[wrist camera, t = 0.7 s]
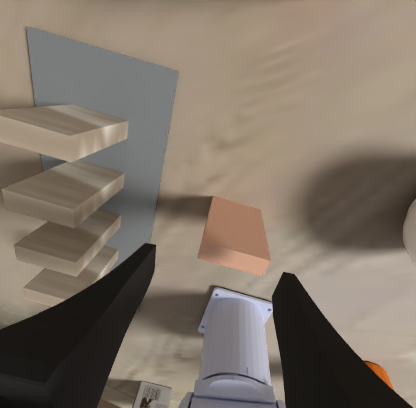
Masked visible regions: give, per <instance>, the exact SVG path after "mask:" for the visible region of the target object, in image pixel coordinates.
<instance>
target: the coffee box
mask: <svg viewBox="0 0 416 408" xmlns="http://www.w3.org/2000/svg"><path fill="white" fill-rule="evenodd" d="M171 392H172V389H171V388H168V387H164V386H160V385H156V384H152V383H148V382H144V381H141V383H140V386H139V389H138V392H137V395H136V398H135V401H134V404H133V407H132V408H168V407H169V402H170V397H171Z"/></svg>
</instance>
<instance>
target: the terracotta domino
mask: <svg viewBox="0 0 416 408" xmlns="http://www.w3.org/2000/svg"><path fill="white" fill-rule="evenodd" d="M198 258H199V259H202V260H206V261H209V262H213V263H216V264H220V265H223V266H227V267H230V268H234V269H237V270H241V271H244V272H248V273H251V274H255V275H258V276H262V277H263V275H264V273H265V271H266V269H267V267H268V265H269V264H270V262H271V260H270V255H269V250H268V244H267V239H266V234H265V229H264V224H263V219H262V214H261V210H259V209H255V208H252V207H248V206H245V205H241V204H238V203H234V202H231V201H228V200H224V199H221V198H217V197H214V196H213V198H212V202H211V205H210V208H209V212H208V216H207V221H206V225H205V229H204V233H203V237H202V241H201V246H200V250H199V254H198Z"/></svg>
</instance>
